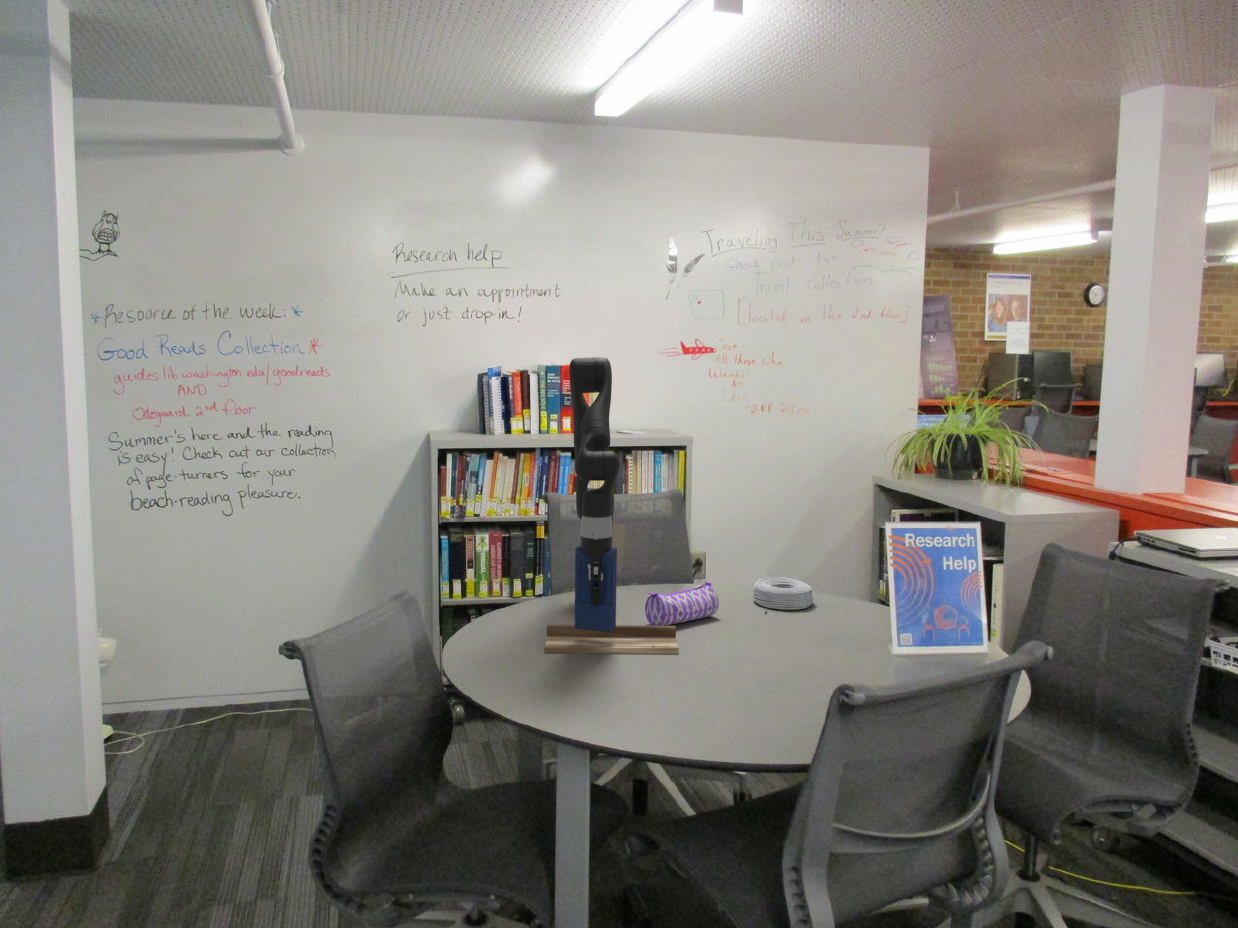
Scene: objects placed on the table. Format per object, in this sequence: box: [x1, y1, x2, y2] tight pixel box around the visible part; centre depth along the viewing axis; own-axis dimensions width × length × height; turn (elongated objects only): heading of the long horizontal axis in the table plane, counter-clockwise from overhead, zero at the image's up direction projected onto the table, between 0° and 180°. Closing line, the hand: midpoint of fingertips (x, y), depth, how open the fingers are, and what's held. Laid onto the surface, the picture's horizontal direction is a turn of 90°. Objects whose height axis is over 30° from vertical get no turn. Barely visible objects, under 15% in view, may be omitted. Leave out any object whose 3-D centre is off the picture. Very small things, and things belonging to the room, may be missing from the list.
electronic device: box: [574, 544, 618, 632], centre depth 211 cm, size 10×5×20 cm, turn 74°
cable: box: [752, 576, 814, 611], centre depth 256 cm, size 18×18×6 cm
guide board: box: [544, 624, 680, 655], centre depth 213 cm, size 10×32×4 cm, turn 91°
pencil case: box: [644, 581, 720, 626], centre depth 236 cm, size 22×9×10 cm, turn 131°
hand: (595, 601), depth 212 cm, fingers closed on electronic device, 6 cm apart
